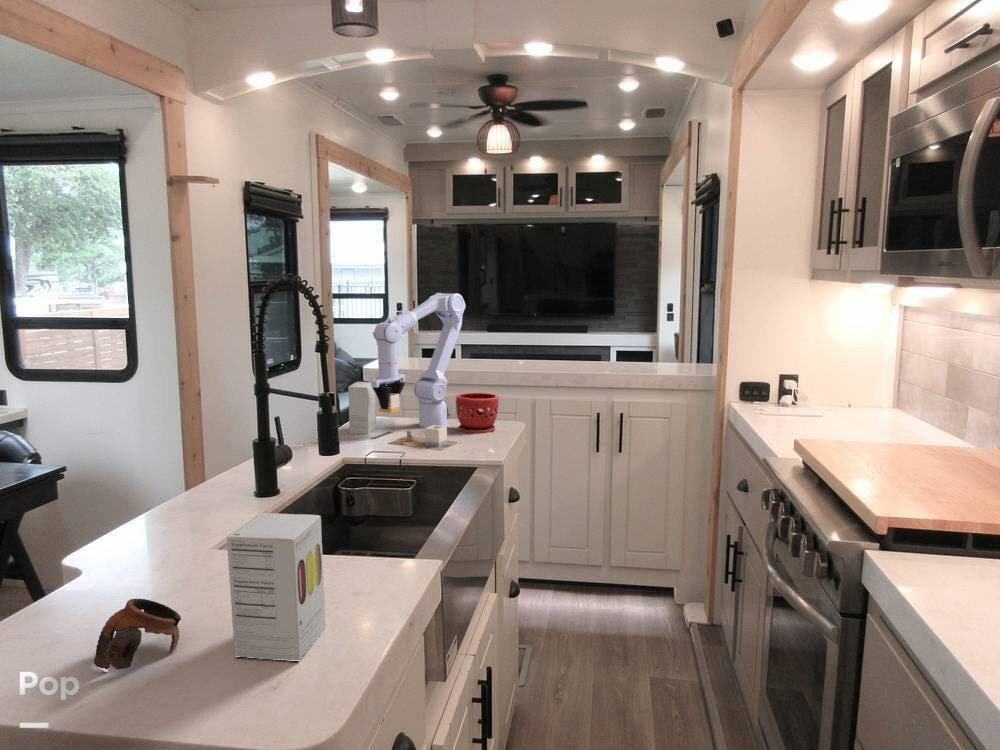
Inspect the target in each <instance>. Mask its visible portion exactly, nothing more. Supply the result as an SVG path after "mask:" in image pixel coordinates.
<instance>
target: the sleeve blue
mask: <svg viewBox="0 0 1000 750" xmlns="http://www.w3.org/2000/svg"><path fill="white" fill-rule="evenodd" d="M447 429H448V428H447V426H438V425H432V426H430V427H427V428H424V430H425V432H424V433H425V437H424V438H426V446H434V447H441V446H443V445H445V444H447V441H448V430H447Z"/></svg>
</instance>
